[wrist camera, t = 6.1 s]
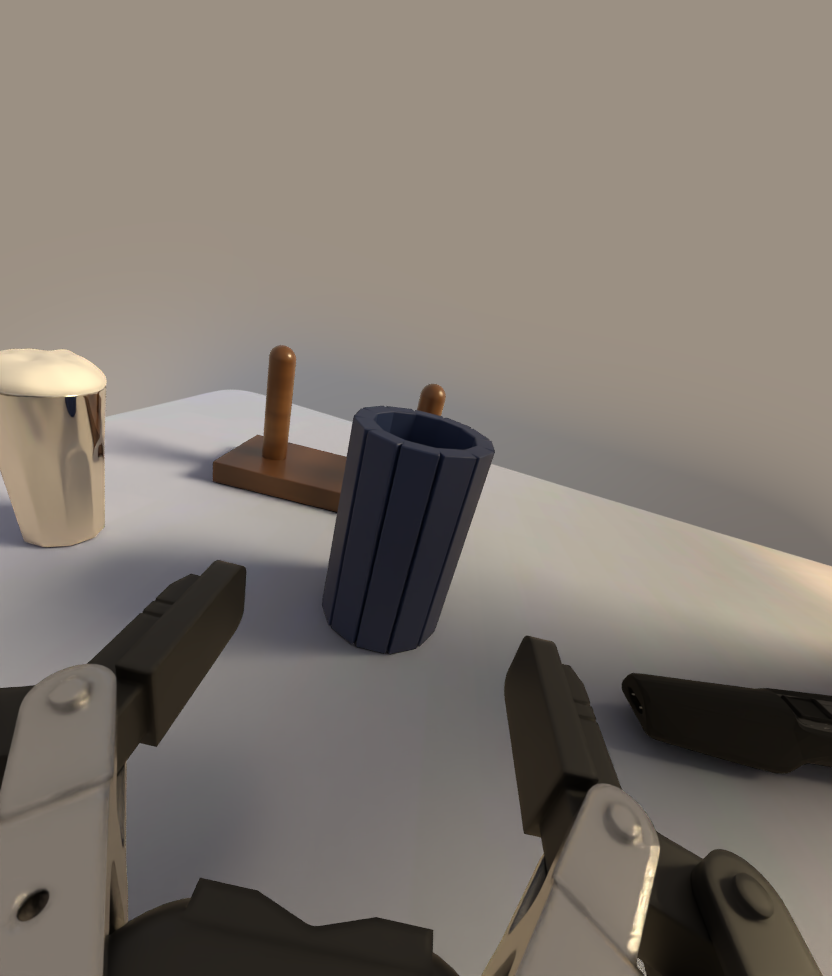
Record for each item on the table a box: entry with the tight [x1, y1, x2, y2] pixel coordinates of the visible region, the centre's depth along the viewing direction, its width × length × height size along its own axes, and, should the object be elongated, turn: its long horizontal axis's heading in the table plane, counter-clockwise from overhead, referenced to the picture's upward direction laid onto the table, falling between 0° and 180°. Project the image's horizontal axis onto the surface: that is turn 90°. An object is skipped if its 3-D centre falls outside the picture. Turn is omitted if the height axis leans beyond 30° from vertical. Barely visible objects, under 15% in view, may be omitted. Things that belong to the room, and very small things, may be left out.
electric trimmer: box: [622, 673, 832, 773], centre depth 18 cm, size 4×16×3 cm, turn 91°
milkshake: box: [0, 349, 106, 547], centre depth 18 cm, size 4×5×10 cm
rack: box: [213, 345, 446, 512], centre depth 30 cm, size 17×7×10 cm, turn 85°
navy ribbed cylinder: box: [322, 406, 495, 654], centre depth 19 cm, size 6×6×10 cm
